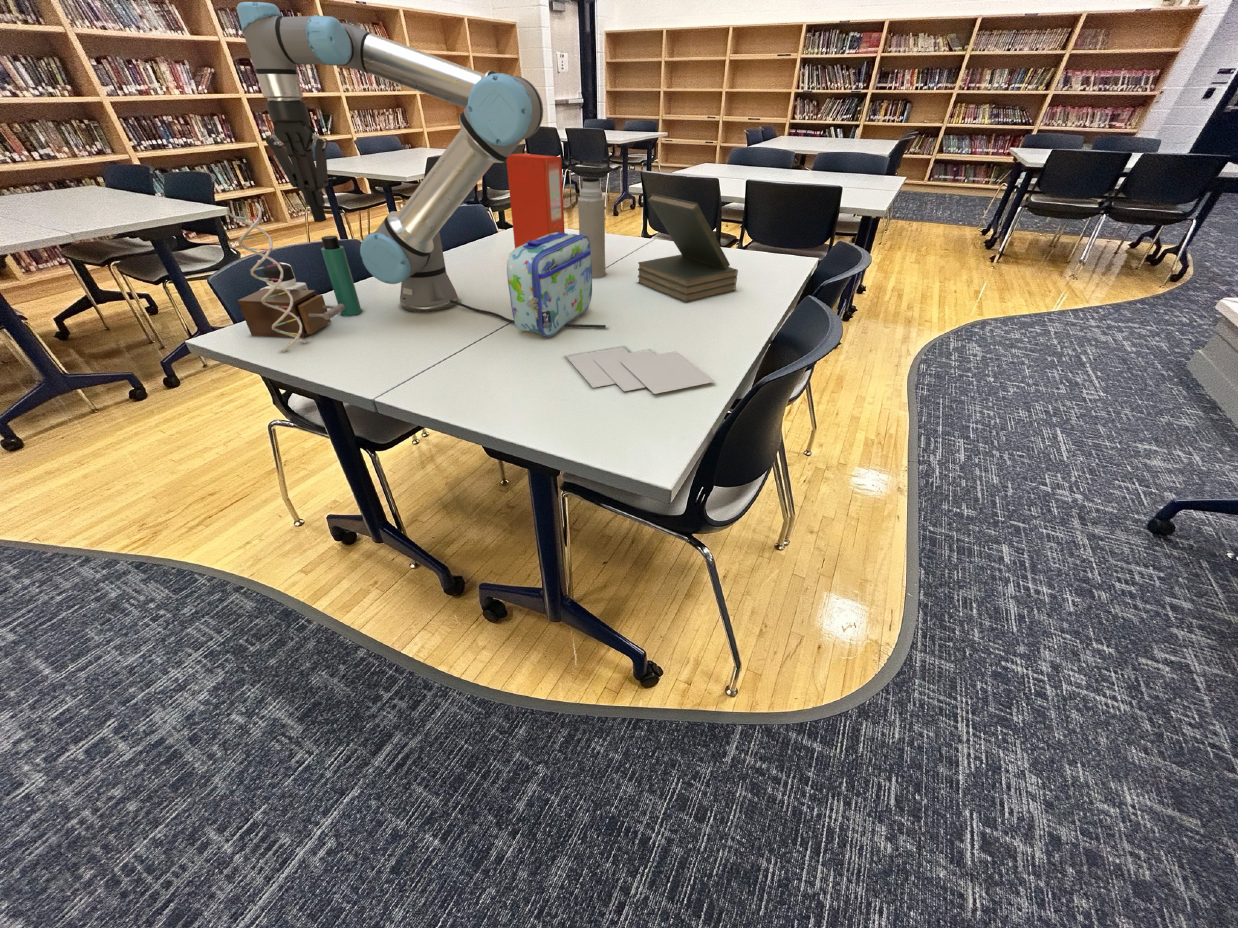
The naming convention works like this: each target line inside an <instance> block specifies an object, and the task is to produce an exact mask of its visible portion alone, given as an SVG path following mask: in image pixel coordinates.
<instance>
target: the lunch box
mask: <svg viewBox="0 0 1238 928" xmlns="http://www.w3.org/2000/svg"><path fill="white" fill-rule="evenodd" d="M507 258H508V259H507V261H506V262H507V263H506V276H507V277H506V278H507V286H508V292H509V298H510V299H509V300H510V305H511V307H510V308H511V313H512V314H511V315H512V320H514V323H515V324H514V323H513V324H514V326H515V328H516V329H517V331H520V332H521V331H522V332H532V333H537V334H540V335H541V336H543V337H546V338H551V337H553V336H555V335H556V334H557V333H558V332H559V331H561V330H562V329H563V328H565V327H564V326H565V325H566V324H571V322H572V321H573V320H575V319H576V318H577V317H578V316H580V315H582V314H583V313H585V312H586V311H587V310H588V309H589V307H590V304H591V301H592V297H593V278H592V264H591V251H590V243H589V239H588V237H587V236H586V235H584V234H579V233H578V234H576V233H566V232H565V233H557V232H556V233H551V234H548V235H545V236H542V237H540V238H537V239H535V240H533V241H527V243H526V244H524V245H521V246H519V247H517V248H515V247H514V248H513V250H512V251H511V252H510V254H509V255H508V257H507Z"/></svg>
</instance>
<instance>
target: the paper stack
mask: <svg viewBox="0 0 1238 928" xmlns="http://www.w3.org/2000/svg"><path fill="white" fill-rule="evenodd" d="M565 358H567V360H568V361H569V362H570V363H571V364H572V366H573V367H574V368H575V369H576V370H577V371H578V372H579V374H580V375H581V376H582V377H583V378H584V379H585V380H586V381H587V383H588V384H589V385H590V386H591V387H592V389H594V388H599V387H600V388H601V387H605V386H609V385H615V384H616V385H617V386H618V387H619V388H620V389H621V390H622V391H623V392H629V391H634V390H638V389H639V390H640V389H644V388H647V389H648V390H649V391H650V392H651V393H653V394H654V395H657V394H661V393H666V392H672V391H676V390H682V389H685V388H692V387H696V386H701V385H705V384H706V385H707V384H710V383H716V382H717V381H716V380H715V379H713V377H712V376H710V375H708V374H707V373H706V372H705V371H703V370H702V369H701V368H699V367H698V366H697V365H696V364H694V363H693V362H691V360H689V359H688V358H687V357H685V356H684V355H683V354H681V353H680V352H679V351H677V350H673V351H668V352H663V353H655V352H654V351H653V350H652V349H645V350H638V351H633V352H632V351H631V352H629V351H628V350H627V348H625V347H624V346H620V347H614V348H607V349H602V350H597V351H595V350H594V351H590V352H585V353H579V354H572V355H566V356H565Z"/></svg>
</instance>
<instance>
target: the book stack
mask: <svg viewBox="0 0 1238 928" xmlns="http://www.w3.org/2000/svg"><path fill="white" fill-rule="evenodd" d="M647 201H648V202H649V204H650V206H651V208H652V209H653V211H654V212H655V214H656V216H657V217H658V219H659V220H660V223H662V225H663V227H664V228H665V230H666V232H667V233H668V236H669V237H670V238H671V240H672V241H673V243H674V245H675V246H676V248H677V249H678V251H679V252H680V254H675V255H671V256H666V257H660V258H654V259H649V260H643V261H638V262H637V264H639V265H638V268H637V271H638V275H637V278H638V281H637V284H639V285H641V286H643V287H646V288H648V289H651V290H653V291H656V292H658V293H660V294H663V295H666V296H667V297H671V298H673V299H675V300H677V301H680V302H683V303H685V304H687V303H690V302H694V301H698V300H703V299H707V298H711V297H715V296H719V295H723V294H727V293H732V292H735V291H736V288H737V283H738V282H737V281H738V273H739V269H737V268H734V267H730V266H731V263H730V262H729V260H728V258H727V256H726V254H725V253H724V251H723V248H722V246H721V244H719V243H720V242H719V241H718V239H717V237H716V236H715V234H714V232H713V230H712V228H711V226H710V224H709V223H708V221H707V219H706V217H705V215H704V214H703V212H702V209H701V208H700V206H699V204H698V202H693V201H688V200H684V199H679V198H675V197H671V196H666V195H660V194H656V193H651V196H650V198H647Z"/></svg>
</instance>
